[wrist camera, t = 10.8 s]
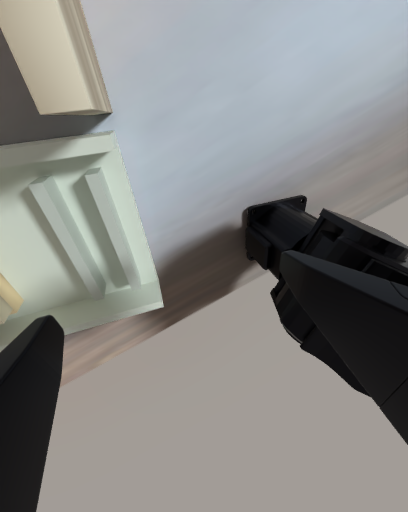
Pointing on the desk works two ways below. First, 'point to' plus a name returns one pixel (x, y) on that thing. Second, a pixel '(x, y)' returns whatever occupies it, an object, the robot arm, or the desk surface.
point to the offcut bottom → (10, 295)
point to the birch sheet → (55, 55)
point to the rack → (72, 235)
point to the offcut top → (4, 310)
